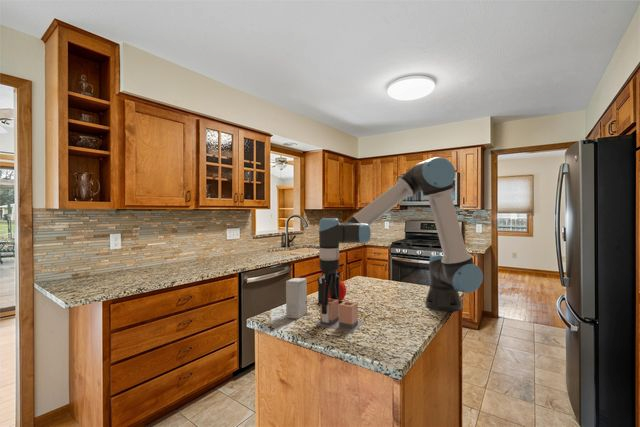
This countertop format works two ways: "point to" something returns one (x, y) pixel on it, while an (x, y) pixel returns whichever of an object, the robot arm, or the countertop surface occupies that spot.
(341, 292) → the tomato
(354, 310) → the sleeve seated
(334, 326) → the pin board
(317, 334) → the countertop surface
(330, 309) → the sleeve free
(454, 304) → the robot arm
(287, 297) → the skincare box
